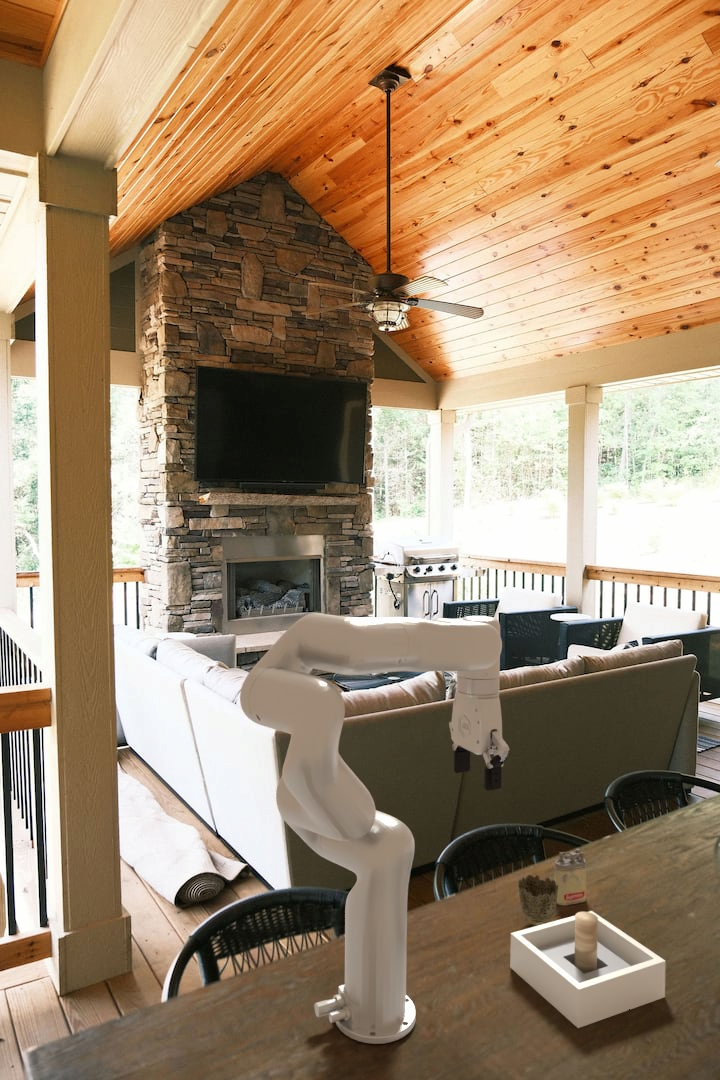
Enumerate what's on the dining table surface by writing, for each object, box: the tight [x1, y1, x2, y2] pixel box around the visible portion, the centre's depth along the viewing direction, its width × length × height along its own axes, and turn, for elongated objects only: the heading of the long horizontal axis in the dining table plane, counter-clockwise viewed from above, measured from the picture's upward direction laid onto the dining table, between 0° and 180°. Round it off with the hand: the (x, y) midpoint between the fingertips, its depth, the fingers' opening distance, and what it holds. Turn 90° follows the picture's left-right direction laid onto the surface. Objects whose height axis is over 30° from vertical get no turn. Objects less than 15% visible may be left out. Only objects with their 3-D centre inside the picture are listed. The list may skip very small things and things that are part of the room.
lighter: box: [553, 848, 587, 906], centre depth 153 cm, size 7×4×10 cm, turn 110°
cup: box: [517, 874, 558, 927], centre depth 143 cm, size 8×7×8 cm
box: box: [509, 910, 667, 1029], centre depth 126 cm, size 18×17×6 cm
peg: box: [574, 911, 598, 974], centre depth 126 cm, size 4×4×10 cm
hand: (476, 780), depth 135 cm, fingers open, 9 cm apart
